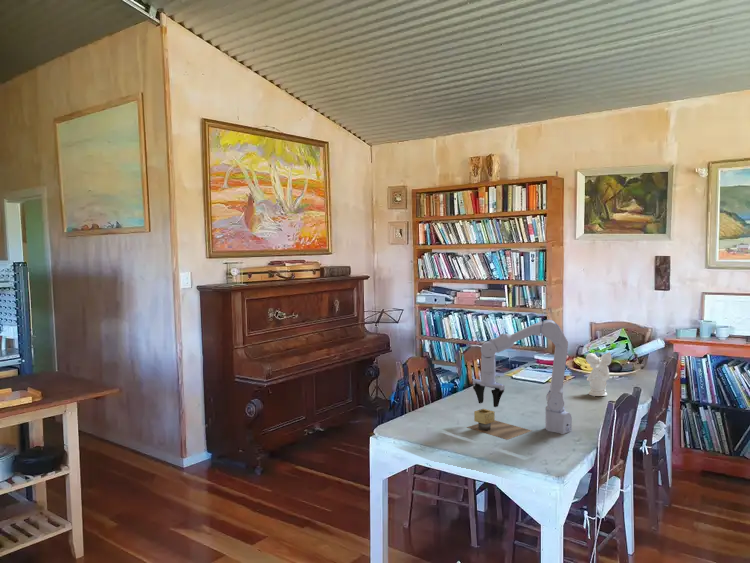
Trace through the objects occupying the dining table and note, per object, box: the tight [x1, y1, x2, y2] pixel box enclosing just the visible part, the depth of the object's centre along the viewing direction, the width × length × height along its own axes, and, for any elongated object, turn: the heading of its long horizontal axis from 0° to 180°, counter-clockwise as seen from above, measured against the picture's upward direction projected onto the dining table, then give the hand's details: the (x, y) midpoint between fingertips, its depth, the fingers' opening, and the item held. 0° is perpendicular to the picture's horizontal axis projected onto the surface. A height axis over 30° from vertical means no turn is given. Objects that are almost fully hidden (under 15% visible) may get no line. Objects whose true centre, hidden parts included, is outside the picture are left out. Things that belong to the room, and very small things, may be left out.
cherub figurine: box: [585, 351, 612, 397], centre depth 281 cm, size 12×12×22 cm
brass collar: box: [473, 408, 496, 424], centre depth 226 cm, size 6×6×4 cm
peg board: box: [466, 420, 533, 441], centre depth 226 cm, size 20×16×6 cm
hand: (488, 404), depth 231 cm, fingers open, 7 cm apart
